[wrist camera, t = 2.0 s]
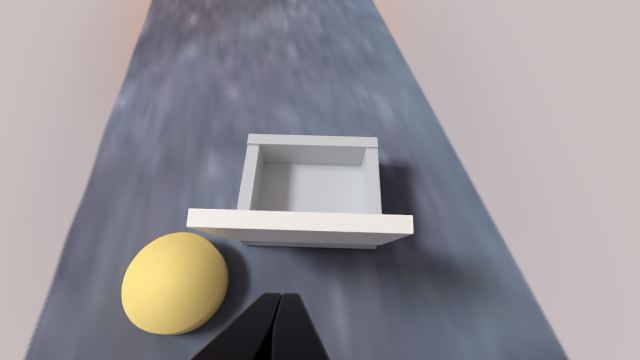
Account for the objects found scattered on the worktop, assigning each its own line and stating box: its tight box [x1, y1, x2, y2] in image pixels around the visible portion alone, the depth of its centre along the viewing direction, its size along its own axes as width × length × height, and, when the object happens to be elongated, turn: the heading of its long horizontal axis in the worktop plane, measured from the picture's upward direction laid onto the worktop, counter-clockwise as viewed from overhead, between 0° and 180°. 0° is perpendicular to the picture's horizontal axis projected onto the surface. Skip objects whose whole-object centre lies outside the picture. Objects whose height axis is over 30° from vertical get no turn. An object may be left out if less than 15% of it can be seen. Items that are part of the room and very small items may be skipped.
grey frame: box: [237, 134, 382, 249], centre depth 22 cm, size 7×9×3 cm
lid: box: [186, 209, 414, 245], centre depth 16 cm, size 7×9×1 cm
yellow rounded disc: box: [122, 232, 229, 335], centre depth 20 cm, size 6×6×2 cm
